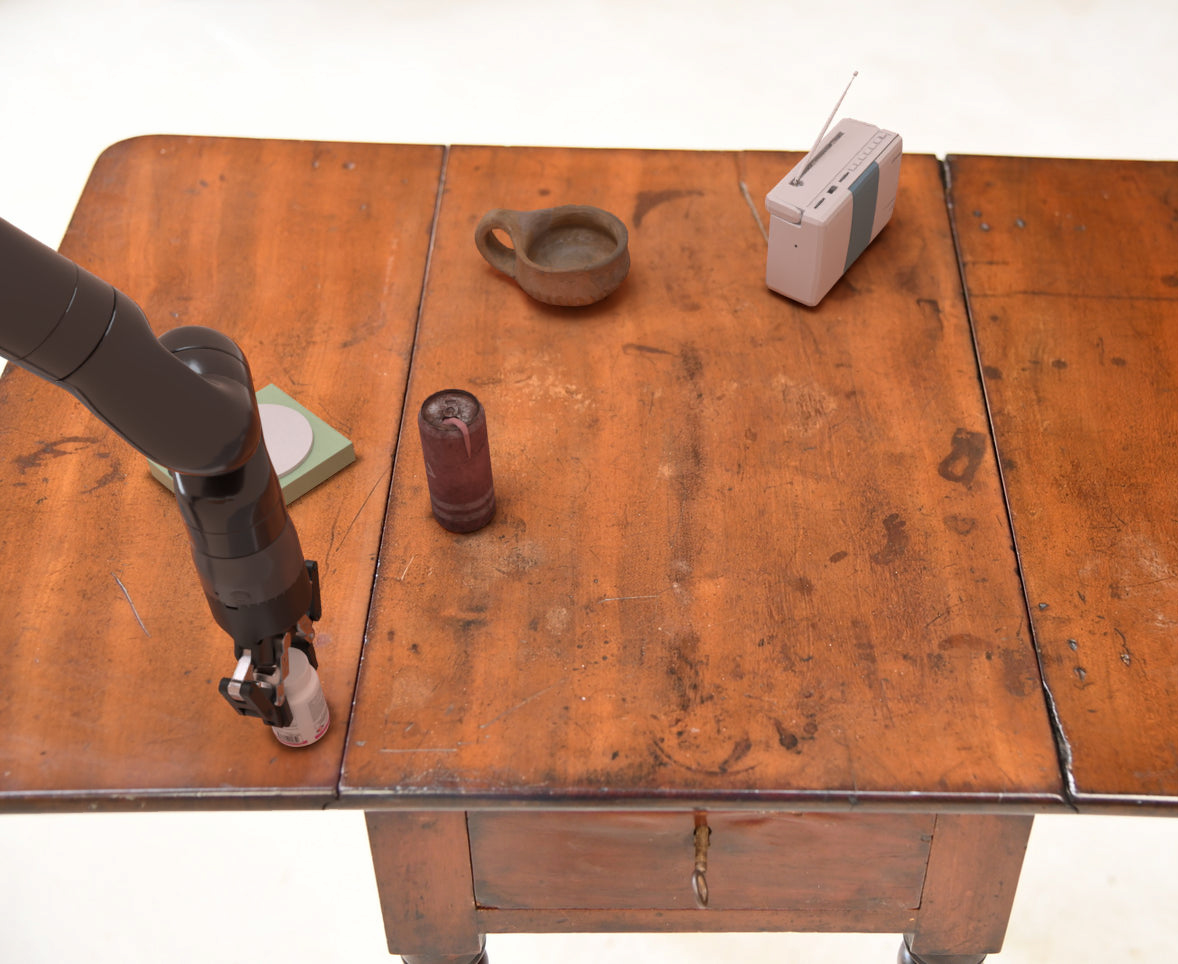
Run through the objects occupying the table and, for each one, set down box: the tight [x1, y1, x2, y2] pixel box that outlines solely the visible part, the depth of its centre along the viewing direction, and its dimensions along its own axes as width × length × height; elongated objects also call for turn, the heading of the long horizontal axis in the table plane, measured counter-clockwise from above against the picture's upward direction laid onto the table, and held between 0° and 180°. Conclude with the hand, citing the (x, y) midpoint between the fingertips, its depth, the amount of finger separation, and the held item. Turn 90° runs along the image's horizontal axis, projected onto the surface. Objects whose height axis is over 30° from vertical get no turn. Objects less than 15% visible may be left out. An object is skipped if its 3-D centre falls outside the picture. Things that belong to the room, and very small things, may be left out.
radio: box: [764, 70, 904, 307], centre depth 160 cm, size 21×8×20 cm, turn 150°
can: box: [417, 388, 497, 534], centre depth 132 cm, size 6×6×14 cm
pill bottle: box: [261, 647, 331, 748], centre depth 116 cm, size 5×5×8 cm
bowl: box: [474, 203, 631, 307], centre depth 158 cm, size 18×14×10 cm
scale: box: [145, 382, 357, 507], centre depth 139 cm, size 15×13×3 cm
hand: (292, 695), depth 116 cm, fingers closed on pill bottle, 4 cm apart
